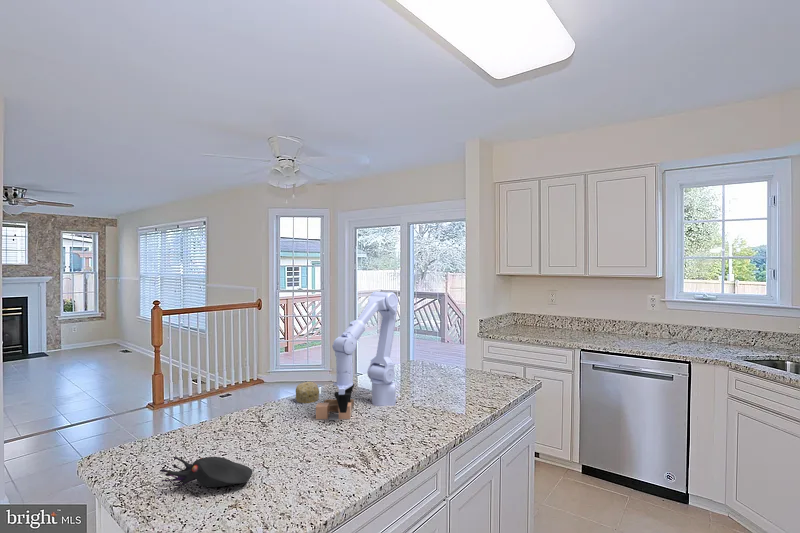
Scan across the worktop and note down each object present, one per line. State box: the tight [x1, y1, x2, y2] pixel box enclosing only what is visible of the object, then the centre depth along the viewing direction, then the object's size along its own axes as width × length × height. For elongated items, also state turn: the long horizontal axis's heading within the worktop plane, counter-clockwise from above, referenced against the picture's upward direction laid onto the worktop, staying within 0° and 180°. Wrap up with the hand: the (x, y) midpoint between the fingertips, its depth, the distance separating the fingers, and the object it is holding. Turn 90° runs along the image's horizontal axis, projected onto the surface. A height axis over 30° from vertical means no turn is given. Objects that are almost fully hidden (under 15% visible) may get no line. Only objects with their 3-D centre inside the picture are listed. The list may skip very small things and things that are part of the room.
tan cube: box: [315, 402, 330, 420], centre depth 151 cm, size 4×4×4 cm
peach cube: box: [338, 403, 353, 420], centre depth 151 cm, size 4×4×4 cm
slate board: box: [315, 413, 351, 421], centre depth 151 cm, size 12×6×1 cm, turn 89°
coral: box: [295, 380, 320, 404], centre depth 170 cm, size 9×9×8 cm
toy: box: [159, 456, 253, 488], centre depth 108 cm, size 10×21×10 cm, turn 95°
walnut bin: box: [323, 398, 355, 413], centre depth 160 cm, size 11×7×3 cm, turn 89°
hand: (344, 408), depth 151 cm, fingers open, 7 cm apart
